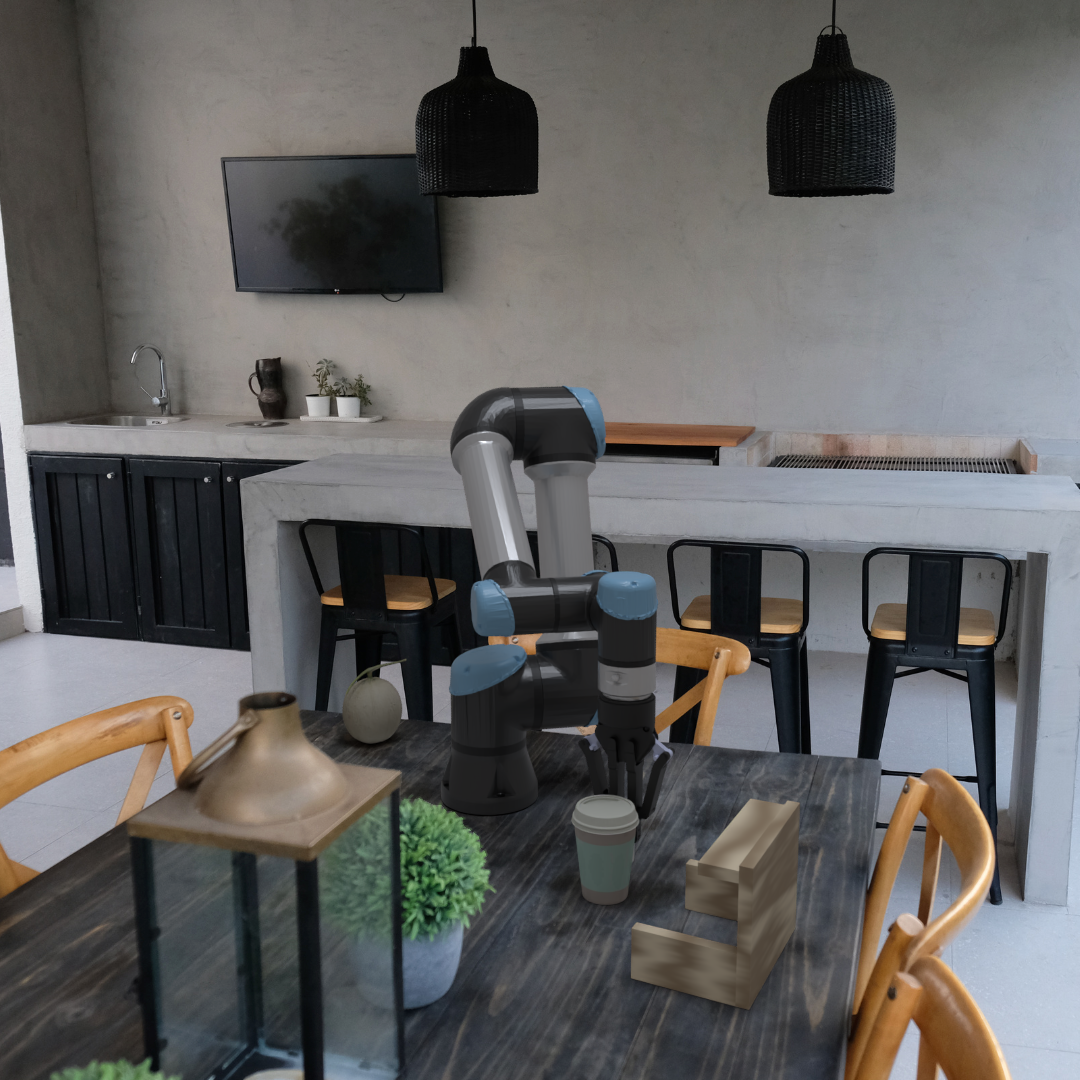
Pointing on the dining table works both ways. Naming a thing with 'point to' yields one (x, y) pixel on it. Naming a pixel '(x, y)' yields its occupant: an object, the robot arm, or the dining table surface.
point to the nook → (731, 910)
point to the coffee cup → (605, 846)
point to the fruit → (372, 707)
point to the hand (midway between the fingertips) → (625, 862)
